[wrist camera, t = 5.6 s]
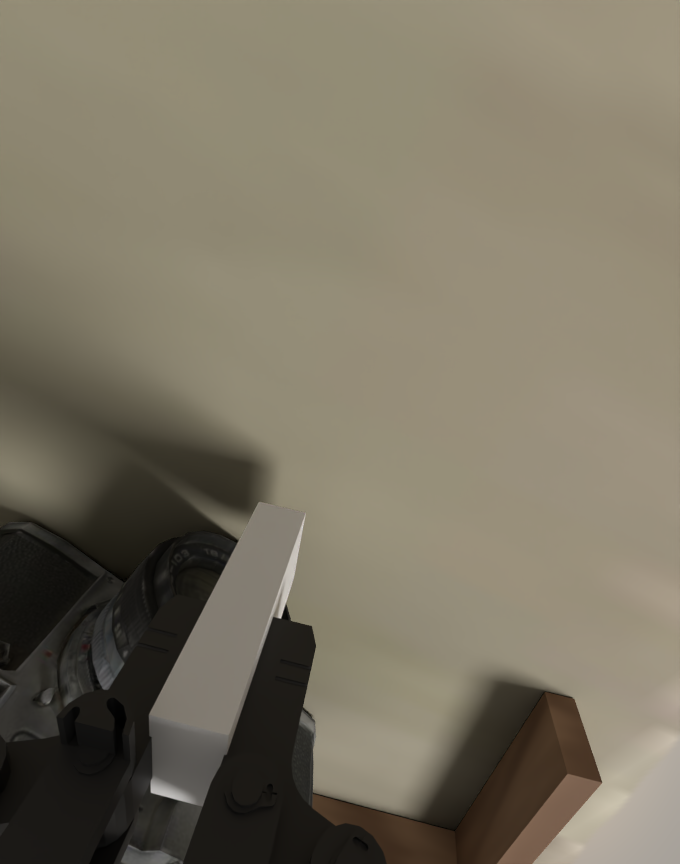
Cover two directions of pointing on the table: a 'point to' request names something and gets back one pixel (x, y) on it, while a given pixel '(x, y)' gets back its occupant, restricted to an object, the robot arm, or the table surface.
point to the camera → (102, 649)
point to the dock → (498, 799)
